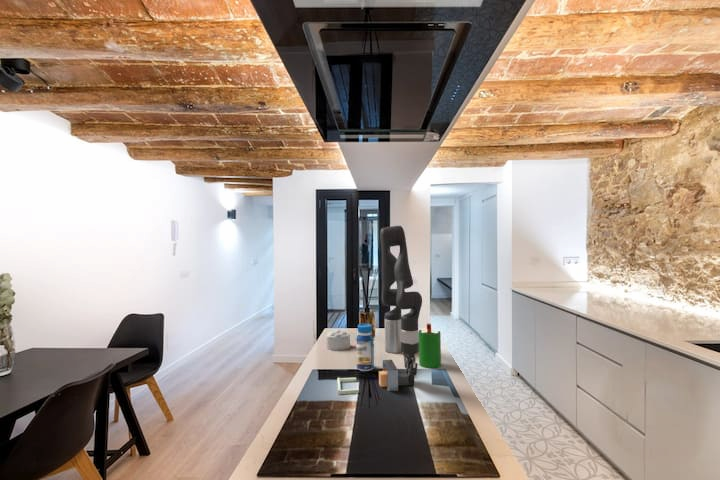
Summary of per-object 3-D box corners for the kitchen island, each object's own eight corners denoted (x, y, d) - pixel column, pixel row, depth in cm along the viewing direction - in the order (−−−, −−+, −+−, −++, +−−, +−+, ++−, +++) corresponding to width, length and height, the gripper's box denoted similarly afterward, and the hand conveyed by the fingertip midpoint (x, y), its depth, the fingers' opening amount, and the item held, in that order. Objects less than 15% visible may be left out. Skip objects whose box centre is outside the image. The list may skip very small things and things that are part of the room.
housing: (388, 391, 128) (387, 370, 128) (382, 378, 140) (382, 360, 140) (398, 390, 128) (397, 370, 129) (392, 378, 140) (391, 359, 140)
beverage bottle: (378, 368, 152) (377, 325, 152) (364, 373, 146) (363, 328, 147) (366, 363, 158) (366, 322, 158) (352, 367, 153) (352, 324, 153)
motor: (439, 361, 159) (439, 320, 160) (442, 368, 150) (441, 325, 151) (418, 361, 160) (418, 320, 161) (420, 368, 151) (419, 324, 152)
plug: (412, 381, 137) (411, 369, 137) (414, 384, 133) (414, 372, 134) (379, 383, 135) (378, 371, 136) (380, 387, 132) (380, 374, 132)
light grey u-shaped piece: (337, 381, 138) (337, 377, 138) (356, 380, 139) (356, 376, 139) (338, 394, 126) (338, 390, 126) (358, 393, 127) (358, 389, 127)
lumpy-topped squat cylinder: (327, 344, 189) (327, 329, 190) (350, 344, 190) (349, 329, 190) (326, 350, 179) (326, 334, 179) (350, 349, 179) (349, 334, 180)
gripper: (397, 335, 142) (397, 375, 142) (405, 345, 128) (405, 390, 128) (414, 335, 143) (414, 374, 142) (423, 344, 129) (424, 389, 129)
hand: (410, 381), depth 135 cm, fingers closed on plug, 3 cm apart
